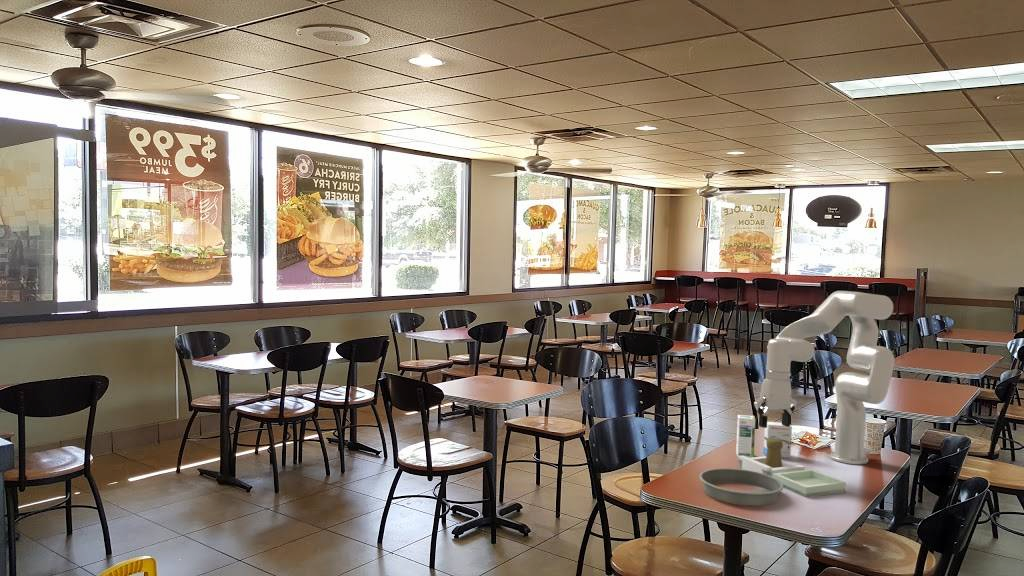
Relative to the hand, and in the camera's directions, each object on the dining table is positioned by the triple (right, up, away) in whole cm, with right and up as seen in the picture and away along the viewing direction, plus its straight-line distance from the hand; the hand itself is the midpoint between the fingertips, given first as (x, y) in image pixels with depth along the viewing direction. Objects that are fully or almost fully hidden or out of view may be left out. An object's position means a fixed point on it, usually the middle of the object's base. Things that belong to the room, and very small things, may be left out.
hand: (774, 426), depth 246 cm
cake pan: (-19, -17, -22) cm, 34 cm away
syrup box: (-4, -15, +19) cm, 24 cm away
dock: (0, -15, +1) cm, 15 cm away
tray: (+5, -16, -15) cm, 23 cm away
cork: (0, -16, +1) cm, 16 cm away
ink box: (+8, -15, +21) cm, 27 cm away
